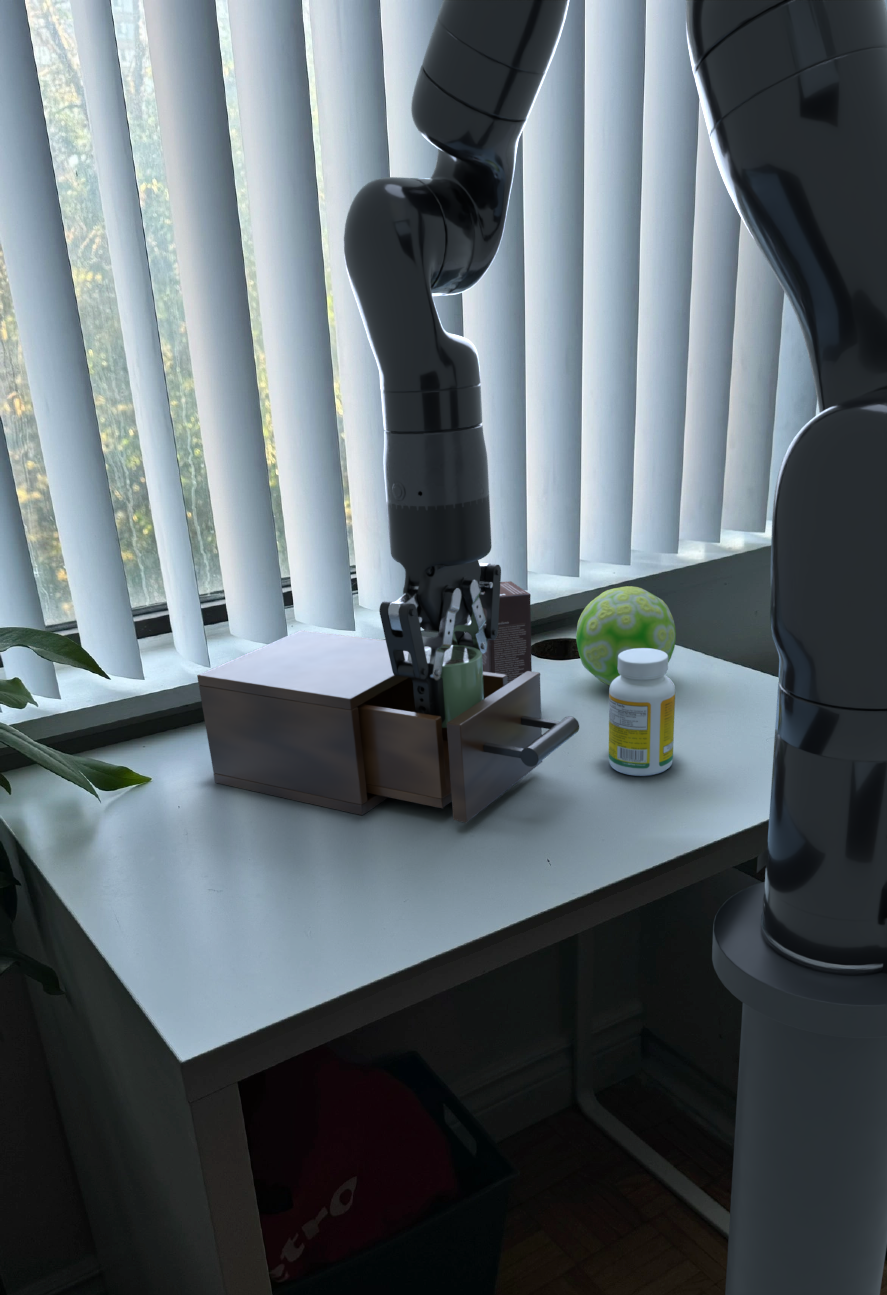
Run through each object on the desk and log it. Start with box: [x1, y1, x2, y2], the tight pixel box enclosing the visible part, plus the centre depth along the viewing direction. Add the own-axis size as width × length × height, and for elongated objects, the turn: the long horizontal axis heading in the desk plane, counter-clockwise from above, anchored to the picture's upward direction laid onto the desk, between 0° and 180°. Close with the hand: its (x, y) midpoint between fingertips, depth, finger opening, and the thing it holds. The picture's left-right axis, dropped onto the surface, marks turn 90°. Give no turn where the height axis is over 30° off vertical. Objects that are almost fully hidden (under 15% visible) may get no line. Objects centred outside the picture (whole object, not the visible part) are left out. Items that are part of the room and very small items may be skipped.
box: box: [482, 580, 533, 684], centre depth 102 cm, size 6×4×12 cm
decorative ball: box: [575, 585, 677, 686], centre depth 107 cm, size 10×10×10 cm
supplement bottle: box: [608, 648, 676, 777], centre depth 89 cm, size 5×5×10 cm
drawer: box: [357, 670, 580, 824], centre depth 86 cm, size 19×13×8 cm, turn 58°
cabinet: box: [196, 629, 430, 816], centre depth 93 cm, size 16×14×10 cm
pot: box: [425, 644, 484, 728], centre depth 84 cm, size 5×5×5 cm
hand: (451, 709), depth 85 cm, fingers closed on pot, 5 cm apart
